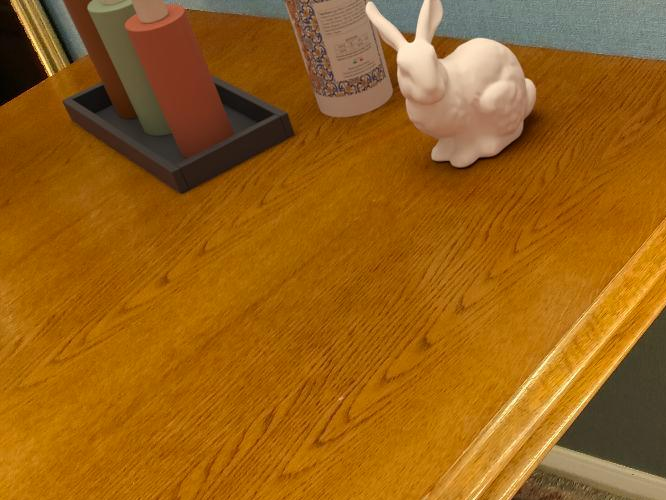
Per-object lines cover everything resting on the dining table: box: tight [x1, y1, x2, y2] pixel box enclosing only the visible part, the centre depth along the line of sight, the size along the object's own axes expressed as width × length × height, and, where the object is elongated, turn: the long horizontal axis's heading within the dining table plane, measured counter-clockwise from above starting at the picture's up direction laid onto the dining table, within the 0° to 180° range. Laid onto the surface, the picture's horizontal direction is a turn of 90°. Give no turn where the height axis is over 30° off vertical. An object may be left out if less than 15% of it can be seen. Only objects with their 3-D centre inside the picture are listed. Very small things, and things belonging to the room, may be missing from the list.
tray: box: [61, 74, 296, 195], centre depth 92 cm, size 12×24×3 cm, turn 42°
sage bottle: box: [87, 0, 172, 136], centre depth 89 cm, size 5×5×13 cm
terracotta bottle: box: [125, 0, 234, 159], centre depth 85 cm, size 5×5×13 cm
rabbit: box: [365, 0, 537, 168], centre depth 80 cm, size 12×9×12 cm
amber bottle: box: [62, 0, 138, 119], centre depth 92 cm, size 5×5×13 cm
